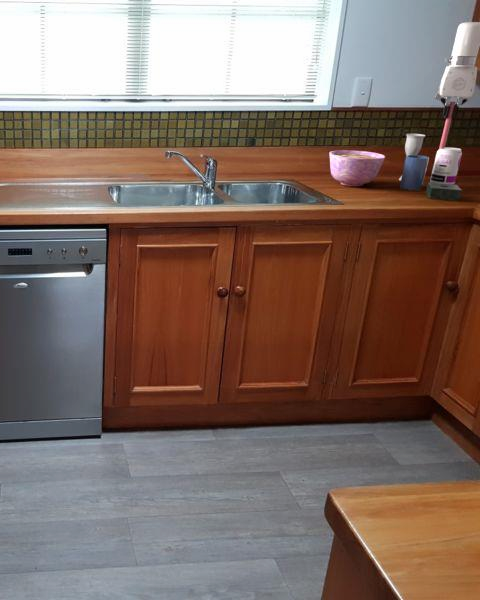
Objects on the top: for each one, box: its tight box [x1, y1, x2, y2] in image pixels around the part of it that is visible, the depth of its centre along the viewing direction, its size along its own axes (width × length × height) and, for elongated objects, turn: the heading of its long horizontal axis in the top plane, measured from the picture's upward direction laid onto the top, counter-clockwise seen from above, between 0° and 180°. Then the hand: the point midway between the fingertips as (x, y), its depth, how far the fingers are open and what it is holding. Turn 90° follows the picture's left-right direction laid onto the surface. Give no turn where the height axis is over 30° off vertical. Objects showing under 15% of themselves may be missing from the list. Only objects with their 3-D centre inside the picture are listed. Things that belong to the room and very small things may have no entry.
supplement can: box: [429, 146, 463, 185], centre depth 231 cm, size 8×8×15 cm
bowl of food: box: [329, 149, 386, 187], centre depth 236 cm, size 20×20×12 cm
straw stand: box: [425, 182, 463, 202], centre depth 219 cm, size 9×9×4 cm
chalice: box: [398, 133, 426, 181], centre depth 244 cm, size 7×7×18 cm
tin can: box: [399, 154, 430, 191], centre depth 230 cm, size 8×8×12 cm
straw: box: [438, 101, 456, 149], centre depth 214 cm, size 2×2×16 cm
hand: (449, 117), depth 213 cm, fingers closed on straw, 1 cm apart
